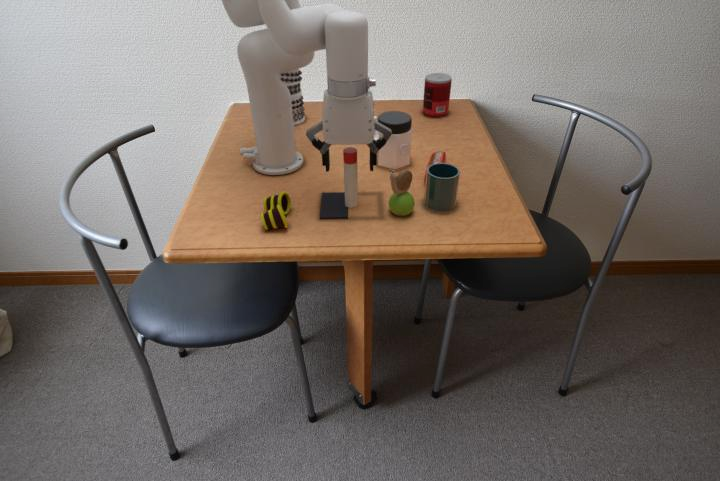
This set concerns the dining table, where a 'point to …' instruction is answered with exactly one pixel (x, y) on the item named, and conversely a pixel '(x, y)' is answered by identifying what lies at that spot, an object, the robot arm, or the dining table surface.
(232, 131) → the dining table surface
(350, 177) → the marker
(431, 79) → the canned food
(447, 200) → the pen cup
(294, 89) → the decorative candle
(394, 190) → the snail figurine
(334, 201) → the mat
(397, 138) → the jar
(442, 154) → the candy bar
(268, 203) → the opera glasses
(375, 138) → the napkin holder
